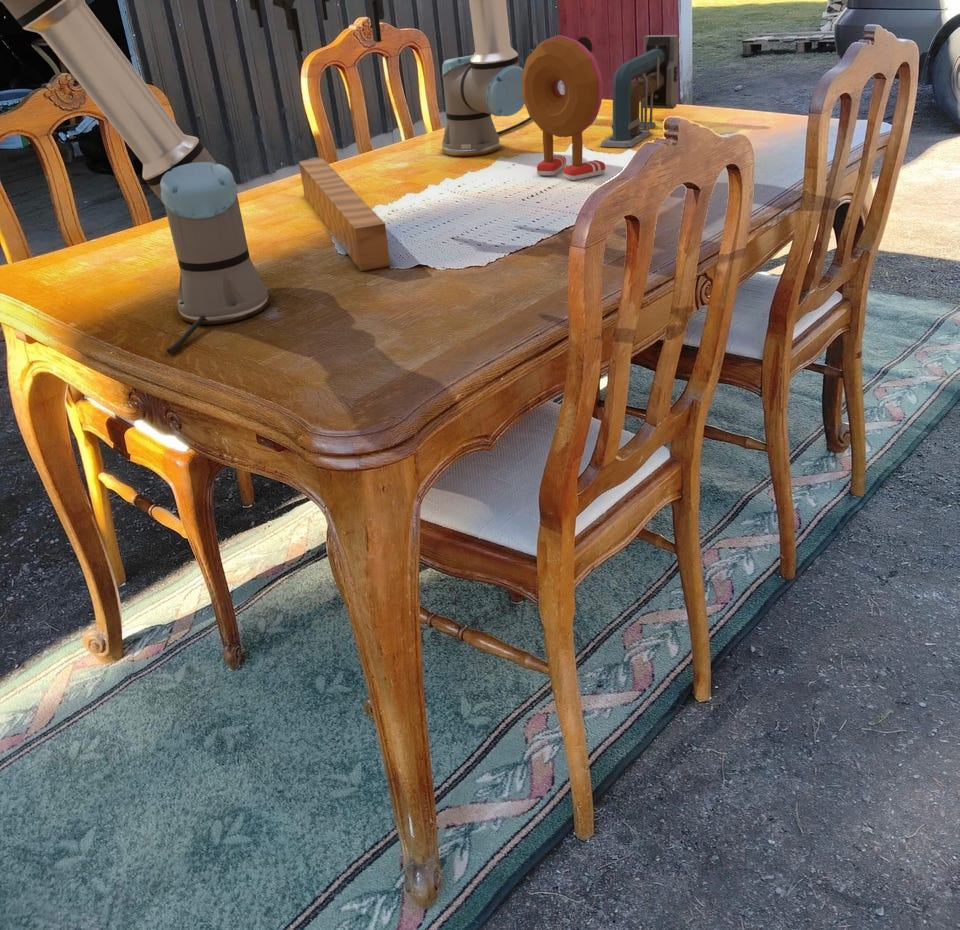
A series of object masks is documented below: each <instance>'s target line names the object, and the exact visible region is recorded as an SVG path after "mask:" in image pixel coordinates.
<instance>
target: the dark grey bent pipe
mask: <svg viewBox="0 0 960 930" xmlns="http://www.w3.org/2000/svg"><path fill="white" fill-rule="evenodd" d="M678 59H679V34H651V35H649V34H648V35H645V36H644V37H643V53H642V54H639V55H638V56H636V57H633V58H631V59H629V60H627V61H625V62H623V63H621V64H620V66H619V67H617V69H616V70H615V72H614V73H613V74H614V75H613V79H612V123H611V129H612V135H610V136H608V137H606V138H605V139H603V140H601V142H600V144H599V146H600V147H604V148H605V147H606V148H608V147H609V148H610V147H611V148H632V147H633V146H635V145H637V144H638V143H640V142H641V141H643V140H644V139H646V138H647V137H649V136H651V135H652V133H651V131H650V129H653V128H655V127H656V126H657V124H656V122H654V121H653V111H654V109H659V110H662V109H665V110H673V109H675V108H676V107H677V100H678V98H677V96H678V66H679V65H678V63H679V61H678ZM637 78H640V79H638V80H636V81H634V82H632V81H633V80H635V79H637ZM648 109H649V121H648Z"/></svg>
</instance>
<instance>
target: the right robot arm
mask: <svg viewBox="0 0 960 930" xmlns="http://www.w3.org/2000/svg"><path fill="white" fill-rule="evenodd" d="M318 2H319V8H320V14H321V20H323V21H329V17H328V9H327V3H329V2H330V0H319V1H318ZM468 4H469V11H470V12H469V13H470V20H471V27H472V35H473V36H472V37H473V44H474V53H473V54H471V55H465V56H461V57H460V56H459V57H453V58H449V59H446V60H444V61H443V63H442V67H441V68H442V69H441V70H442V71H441V78H442V85H443V96H444V105H445V115H446V117H445V118H446V124H445V128H444V134H443V138H442V141H441V142H442V143H441V150H442V153H443V154H444V155H446V156H452V157H476V156H483V155H487V154H491V153H495V152H497V151H498V150H499V149H500V148H501V141H500V137H499V136H500V135H503V134H505V133H507V132H510V131H512V130H515V129H517V128H519V127H521V126H522V125H525V124H526V123H528V122H530V121H532V119H531V117H530V116H529V117H528V118H526V119H524V120H522V121H521V122H518V123H516V124H514V125H512V126H510V127H507V128H505V129H502V130H500V131H497V129H496V126H495V124H494V121H493V119H492V116H494V117H511V116H513V115H516V114H517V113H518V112H520V111H521V110H522V109H523V108H524V106H525V103H524V101H523V98H522V82H521V76H522V73H523V69H524V68H523V67H522V66H521V67H520V63H519V54H518V52H517V51H516V50H515V49H514V48H513V47H512V46H511V36H510V29H509V28H510V27H509V19H508V7H507V0H468ZM248 6H249V9H250V11H255V16H256V23H257V27H258V28H264V21H263V16H262V9H261V3H260V0H248Z"/></svg>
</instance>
